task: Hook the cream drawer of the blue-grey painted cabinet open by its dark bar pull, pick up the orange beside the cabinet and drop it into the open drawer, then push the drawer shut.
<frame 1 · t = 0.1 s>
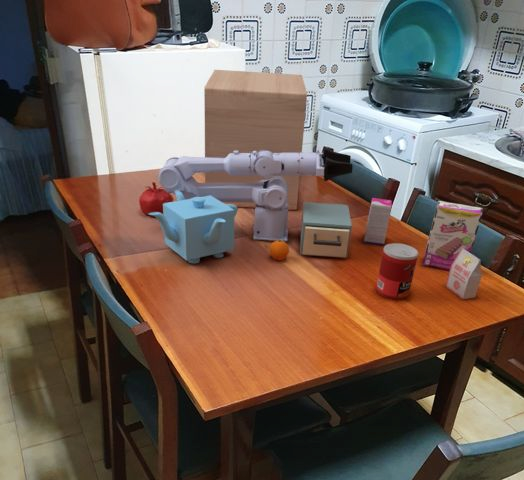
hand: (351, 164, 143), 22 cm above the table, tool horizontal, fingers open, 7 cm apart
candy bar box: (443, 267, 145), on the table
white box: (459, 292, 134), on the table
supplement box: (374, 241, 157), on the table
orange: (279, 250, 142), point 2 cm above the table
storage cube: (252, 191, 188), on the table
canned food: (392, 292, 132), on the table
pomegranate: (157, 213, 166), on the table
teakettle: (195, 254, 144), on the table
drawer: (325, 236, 146), point 5 cm above the table, slide at 0.5 cm
cabinet: (322, 244, 153), on the table
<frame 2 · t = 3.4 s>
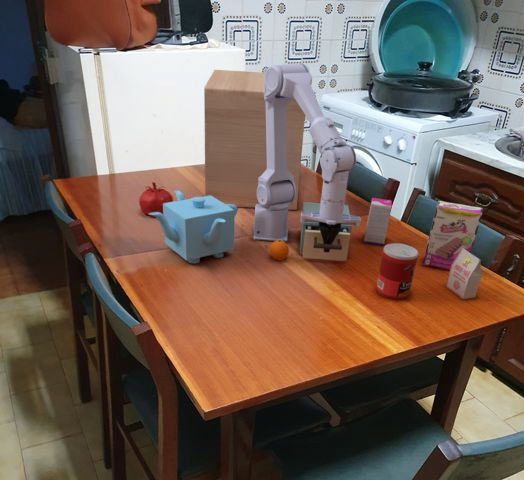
hand: (326, 250, 139), 4 cm above the table, tool pointing down, fingers closed, pressing on drawer
drawer: (325, 239, 144), point 5 cm above the table, slide at 2.7 cm, touching gripper
everything else where it was.
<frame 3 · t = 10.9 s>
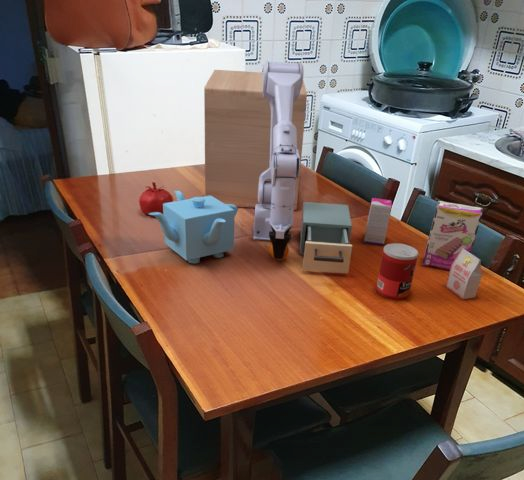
hand: (278, 253, 143), 1 cm above the table, tool pointing down, fingers closed on orange, 5 cm apart
orange: (279, 250, 142), point 2 cm above the table, touching gripper
drawer: (326, 250, 138), point 5 cm above the table, slide at 10.0 cm
everything else where it was.
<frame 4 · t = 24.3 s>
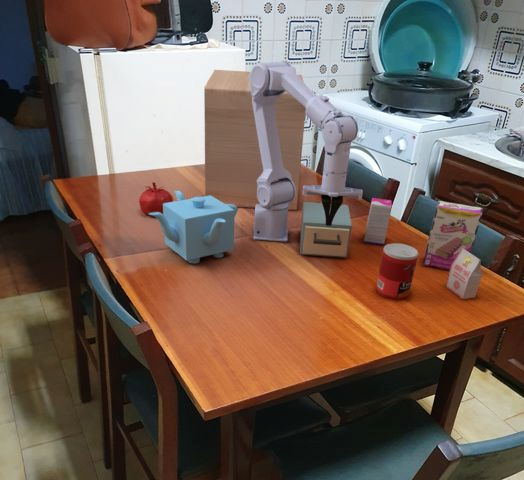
hand: (328, 224, 139), 10 cm above the table, tool pointing down, fingers closed
orange: (331, 237, 146), point 4 cm above the table, tilted 76°, touching drawer
drawer: (325, 235, 147), point 5 cm above the table, slide at 0.0 cm, touching orange
everything else where it was.
at the end: drawer pulled out 10.1 cm at the most during the clip, back to where it started at the end; orange inside the target area in the cabinet (5.5 cm from its centre), point 4.5 cm above the cabinet's base; drawer slide at 0.0 cm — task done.
